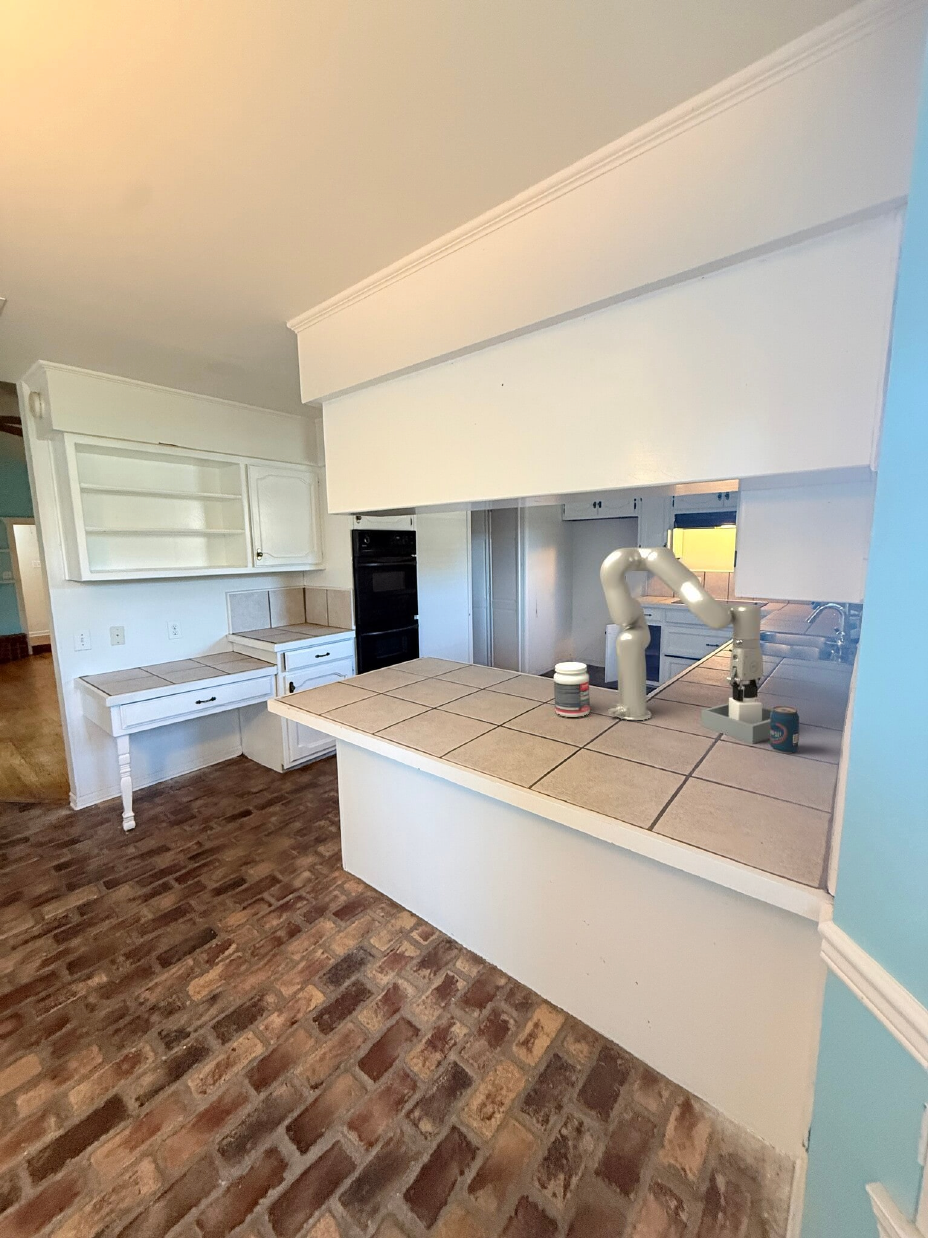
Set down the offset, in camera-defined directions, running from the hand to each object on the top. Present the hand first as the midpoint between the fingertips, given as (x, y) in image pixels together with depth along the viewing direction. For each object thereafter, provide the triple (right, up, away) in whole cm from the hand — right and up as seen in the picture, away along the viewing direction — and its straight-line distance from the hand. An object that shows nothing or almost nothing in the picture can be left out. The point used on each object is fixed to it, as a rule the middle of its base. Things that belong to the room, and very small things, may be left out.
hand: (745, 698), depth 157 cm
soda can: (+3, -13, -15) cm, 20 cm away
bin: (+1, -10, +1) cm, 10 cm away
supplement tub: (-50, -10, +26) cm, 57 cm away
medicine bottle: (0, -8, +1) cm, 8 cm away
